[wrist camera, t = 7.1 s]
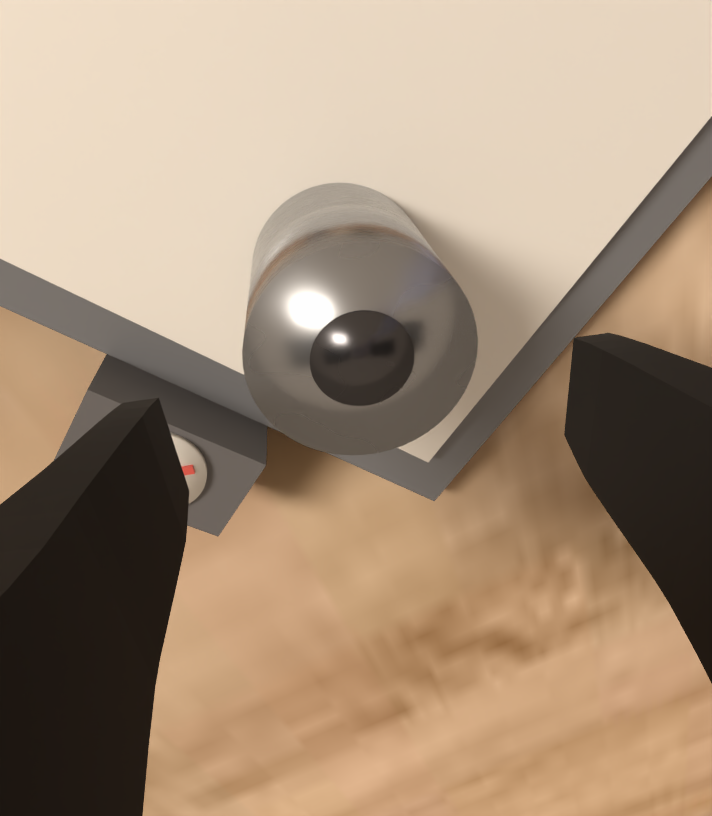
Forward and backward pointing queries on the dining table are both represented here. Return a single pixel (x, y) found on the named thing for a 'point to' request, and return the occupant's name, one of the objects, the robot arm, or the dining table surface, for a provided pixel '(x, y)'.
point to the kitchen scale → (334, 163)
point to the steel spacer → (353, 324)
